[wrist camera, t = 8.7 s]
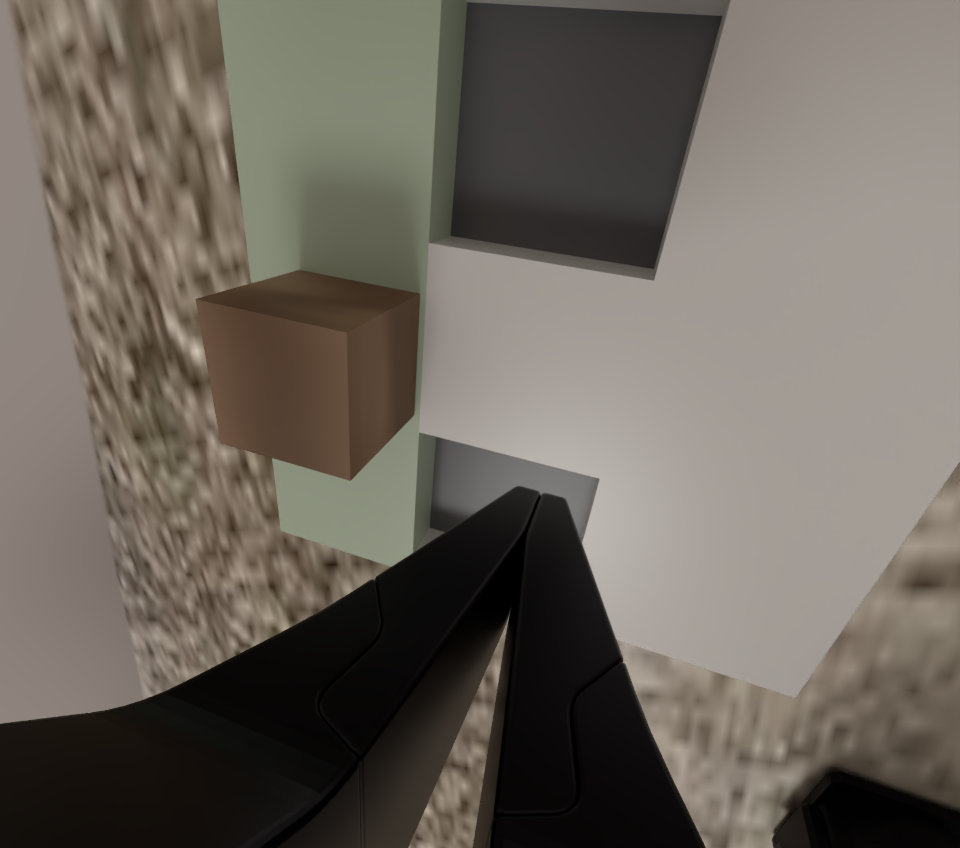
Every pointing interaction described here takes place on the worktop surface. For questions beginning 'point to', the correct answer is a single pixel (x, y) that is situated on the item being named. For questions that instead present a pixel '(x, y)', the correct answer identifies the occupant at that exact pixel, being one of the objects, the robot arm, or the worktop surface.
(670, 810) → the robot arm
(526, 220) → the trap deck
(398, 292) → the walnut block
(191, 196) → the worktop surface
